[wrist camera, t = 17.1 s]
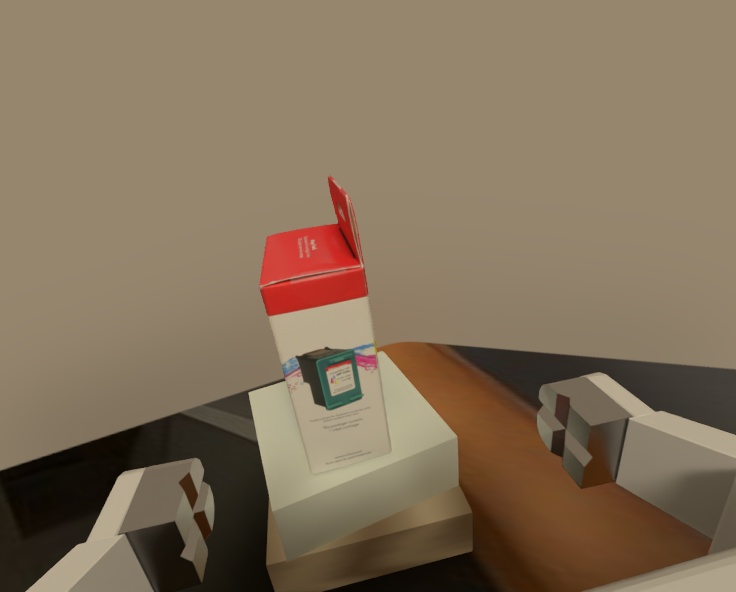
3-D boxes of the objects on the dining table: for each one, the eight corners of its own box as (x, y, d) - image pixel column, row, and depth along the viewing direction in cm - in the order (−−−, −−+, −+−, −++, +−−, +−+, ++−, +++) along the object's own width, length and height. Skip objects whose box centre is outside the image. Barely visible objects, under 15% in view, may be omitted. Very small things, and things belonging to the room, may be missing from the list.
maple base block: (415, 426, 36) (413, 390, 34) (472, 556, 25) (472, 512, 23) (281, 456, 34) (272, 420, 33) (280, 609, 23) (266, 565, 22)
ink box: (302, 387, 30) (251, 187, 24) (367, 372, 30) (333, 173, 24) (309, 479, 22) (236, 216, 16) (396, 457, 22) (357, 194, 16)
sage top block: (387, 390, 35) (382, 351, 33) (458, 485, 25) (457, 436, 24) (259, 433, 31) (248, 392, 30) (287, 562, 22) (272, 511, 20)
